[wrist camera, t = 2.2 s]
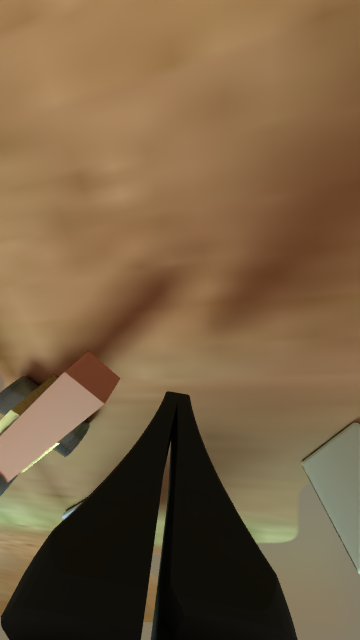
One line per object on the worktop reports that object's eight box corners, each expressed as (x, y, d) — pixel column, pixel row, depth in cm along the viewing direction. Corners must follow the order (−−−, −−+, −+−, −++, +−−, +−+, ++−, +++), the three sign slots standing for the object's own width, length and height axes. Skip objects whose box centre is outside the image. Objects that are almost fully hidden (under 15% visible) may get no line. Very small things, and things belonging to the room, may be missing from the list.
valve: (70, 438, 20) (39, 483, 16) (9, 394, 18) (-43, 431, 14) (103, 413, 18) (77, 456, 14) (38, 362, 16) (-11, 394, 12)
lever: (19, 468, 15) (-13, 506, 12) (-15, 447, 14) (-55, 483, 12) (125, 380, 11) (107, 412, 9) (84, 346, 10) (53, 370, 8)
